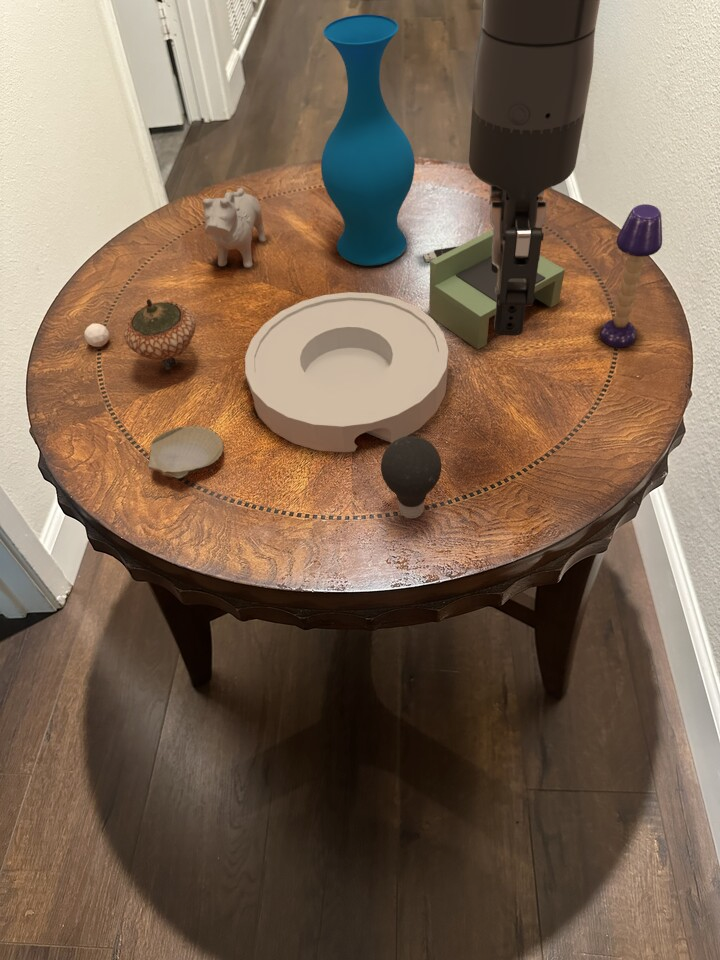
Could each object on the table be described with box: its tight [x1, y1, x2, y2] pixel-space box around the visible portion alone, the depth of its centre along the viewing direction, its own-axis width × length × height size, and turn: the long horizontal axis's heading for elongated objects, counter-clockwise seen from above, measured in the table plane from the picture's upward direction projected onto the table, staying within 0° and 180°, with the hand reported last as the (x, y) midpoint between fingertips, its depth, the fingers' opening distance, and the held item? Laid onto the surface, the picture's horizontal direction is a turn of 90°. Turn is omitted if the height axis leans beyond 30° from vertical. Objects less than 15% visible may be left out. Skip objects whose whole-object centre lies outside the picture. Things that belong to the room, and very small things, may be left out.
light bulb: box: [380, 435, 443, 519], centre depth 70 cm, size 6×6×10 cm
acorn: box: [123, 298, 197, 370], centre depth 87 cm, size 8×8×10 cm
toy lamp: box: [599, 203, 663, 348], centre depth 83 cm, size 5×5×17 cm
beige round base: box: [244, 291, 449, 453], centre depth 86 cm, size 23×23×4 cm
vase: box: [320, 14, 416, 267], centre depth 94 cm, size 12×13×28 cm
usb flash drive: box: [422, 245, 460, 263], centre depth 102 cm, size 8×2×1 cm, turn 101°
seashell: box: [147, 425, 225, 479], centre depth 80 cm, size 8×3×8 cm
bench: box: [428, 228, 566, 351], centre depth 92 cm, size 14×9×8 cm, turn 127°
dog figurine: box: [202, 187, 267, 268], centre depth 102 cm, size 5×13×11 cm, turn 169°
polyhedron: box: [83, 322, 110, 348], centre depth 93 cm, size 3×3×3 cm
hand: (505, 300), depth 62 cm, fingers open, 8 cm apart
